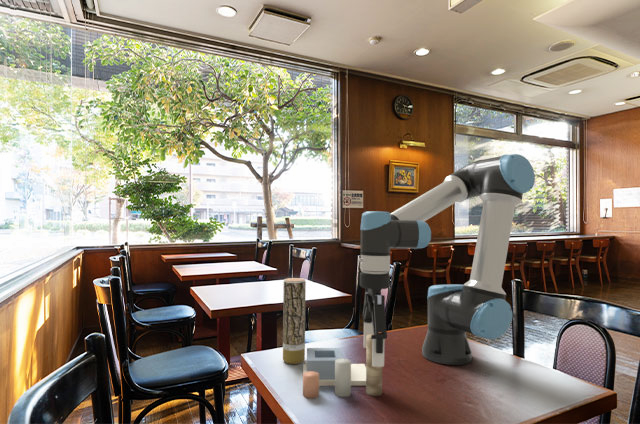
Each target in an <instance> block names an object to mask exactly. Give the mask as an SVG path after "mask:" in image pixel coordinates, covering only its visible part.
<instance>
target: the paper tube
mask: <svg viewBox="0 0 640 424" xmlns="http://www.w3.org/2000/svg"><path fill="white" fill-rule="evenodd" d="M306 281H307V280H306V279H305V278H302V277H287V278H284V279H283V296H282V297H283V301H282V302H283V304H282V305H283V308H282V310H283V312H282V313H283V314H282V315H283V316H282V318H283V319H282V361H283V362H284V363H285V364H289V365H297V364H298V365H299V364H300V363H303V362H304V361H305V359H306V357H305V354H306V351H305V348H306V286H307V284H306Z"/></svg>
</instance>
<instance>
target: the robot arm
mask: <svg viewBox="0 0 640 424" xmlns="http://www.w3.org/2000/svg"><path fill="white" fill-rule="evenodd" d="M535 181H536V175H535V170H534V168H533V166H532V164H531V162H530V161H529V159H527V158H526V157H525V156H523V155H522V154H519V153H513V154H512V153H511V154H503V155H500V156H496V157H495V156H494V157H490V158H484V159H478V160H476V161H472V162H470V163H468V164H466V165H464V166H463V167H461V168H459V169H458V170H456V171H454V172H453V173H451V174H449V175H448V176H446V177H445V178H444V180H443V182H442V183H440V184H438V185H437V186H435V187H433V188H431V189H430V190H428V191H426V192H425V193H423V194H421V195H420V196H418V197H417V198H414V199H413V200H411V201H409V202H408V203H406V204H404V205H402V206H401V207H399V208H397V209H395V210H394V211H393V212H391V213H390V211H379V210H376V211H374V210H373V211H370V210H369V211H364V212H363V213H362V214H361V219H360V221H361V222H360V229H359V230H360V257H358V259H357V261H358V263H359V266H360V267H359V268H360V271H361V272H360V273H359V286H360V287H361V288H363V289H364V290H365V291H364V298H363V299H364V301H363V308H362V309H363V311H362V318H363V342H362V343H363V346H362V347H363V348H366V336H367V335H370V334H374V335H372V336H371V339H373V347H372V366H373V367H382V368H383V367H385V345H386V344H385V343H386V342H385V341H386V339H387V338H388V334H387V332H388V331H387V319H386V305H385V298H386V297H385V295H383V294H382V290H387V289H388V288H390V273H389V272H390V270H391V249H413V250H417V249H423V248H426V247H428V245H429V243H430V242H431V240H432V230H431V229H432V228H431V227H430V226H429V224H428V223H427V222H426V221H427V220H430V219H431V218H432V217H434V216H436V215H437V214H439V213H441V212H443V211H444V210H446V209H447V208H449V207H450V206H452V205H454V204H455V203H462V202H464V201H466V200H468V199H471V198H475V197H479V198H480V200H481V201H482V202H483V205H482V210H481V216H480V220H479V221H480V222H479V227H478V232H477V239H476V244H475V249H474V255H473V261H472V266H471V271H470V277H469V280H468V281H466V282H465V283H464V284H458V283H457V284H454V283H453V284H452V283H451V284H434V285H431V286H429V287H428V290H427V296H426V298H427V332H426V335H425V338H424V341H423V342H422V343H423V344H422V347H421V351H422V352H421V355H422V356H423V357H424V358H425V359H426V360H428V361H430V362H433V363H438V364H443V365H449V366H461V365H467V364H470V363H471V362H473V361H472V359H473V356H472V355H473V354H472V350H471V347H470V343H469V340H468V337H467V333H469V334H470V335H473V336H475V337H477V338H483V339H485V340H496V339H499V338H501V337H502V336H503V335H504V334H506V333H507V331H508V330H509V328H510V326H511V324H512V321H513V310H512V307H511V305H510V303H509V302H508V301H507V300H506V297H507V293H506V292H505V290H504V289H503V288H502V287H503V286H502V285H503V279H504V273H505V268H506V261H507V256H508V249H509V244H510V238H511V232H512V226H513V222H514V221H513V220H514V216H515V215H514V214H515V209H516V207H518V205H520V204H522V201H523V195H524V194H526V193H529V192H530V191H531V190H532V189H533V188H534V186H535Z"/></svg>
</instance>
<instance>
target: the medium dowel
mask: <svg viewBox="0 0 640 424" xmlns="http://www.w3.org/2000/svg"><path fill="white" fill-rule="evenodd" d="M351 364H352V360H351V359H350V358H349V359H348V358H345V357H344V358H341V359H337V360H335V386H334V395H335V396H337V397H339V398H347V397H350V396H351V395H352V394H351V393H352V392H351V391H352V386H351Z"/></svg>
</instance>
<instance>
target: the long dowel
mask: <svg viewBox="0 0 640 424" xmlns="http://www.w3.org/2000/svg"><path fill="white" fill-rule="evenodd" d="M372 335H374V334H370V335H367V336H366V351H365V352H366V353H365V354H366V356H365V357H366V359H365V360H366V361H365V367H366V385H365V388H366V389H365V393H366V394H367V395H369V396H373V397H378V396H381V395H382V394H383V367H373V366H372V347H373V339H371V336H372Z"/></svg>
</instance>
